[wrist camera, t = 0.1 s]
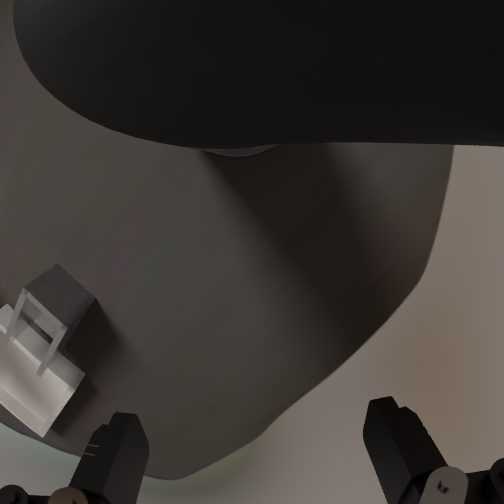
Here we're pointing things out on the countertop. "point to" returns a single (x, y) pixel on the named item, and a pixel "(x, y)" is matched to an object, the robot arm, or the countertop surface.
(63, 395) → the tray
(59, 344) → the scoop
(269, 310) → the countertop surface
